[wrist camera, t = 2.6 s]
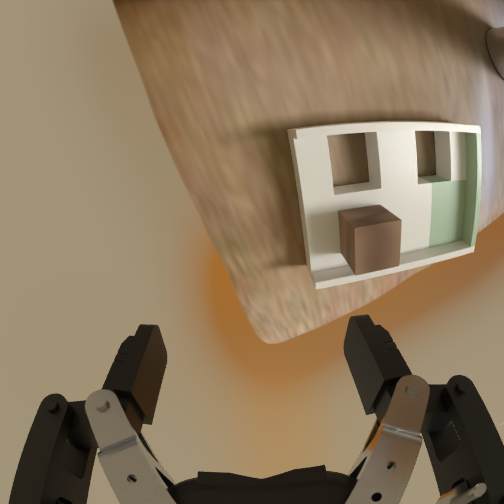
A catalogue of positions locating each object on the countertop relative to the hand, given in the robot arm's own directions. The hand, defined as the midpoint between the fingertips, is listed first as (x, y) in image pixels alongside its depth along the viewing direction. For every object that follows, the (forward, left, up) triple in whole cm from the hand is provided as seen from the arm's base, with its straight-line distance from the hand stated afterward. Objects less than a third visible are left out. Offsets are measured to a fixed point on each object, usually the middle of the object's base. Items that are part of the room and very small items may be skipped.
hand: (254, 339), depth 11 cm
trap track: (-15, 0, -19) cm, 24 cm away
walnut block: (-10, +3, -16) cm, 19 cm away
